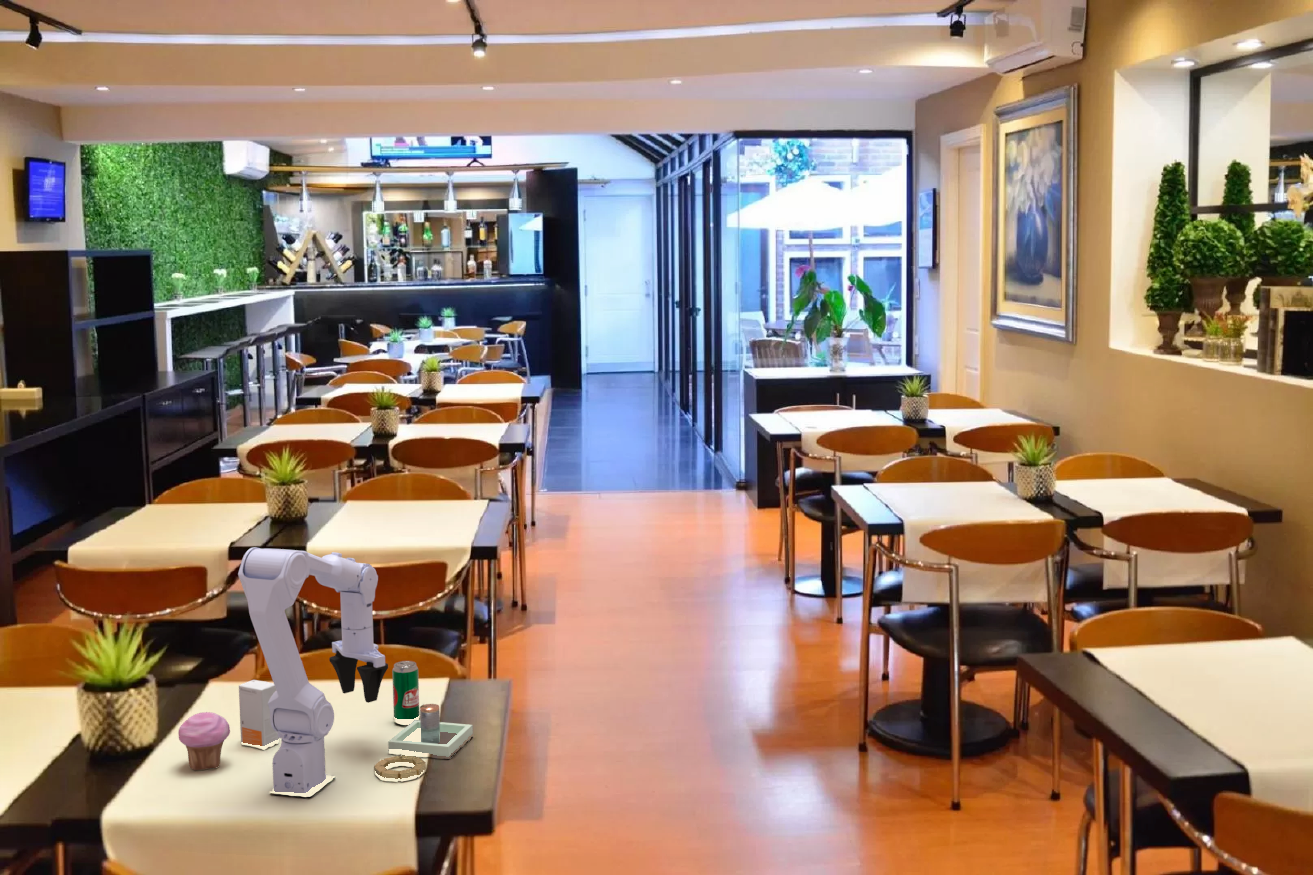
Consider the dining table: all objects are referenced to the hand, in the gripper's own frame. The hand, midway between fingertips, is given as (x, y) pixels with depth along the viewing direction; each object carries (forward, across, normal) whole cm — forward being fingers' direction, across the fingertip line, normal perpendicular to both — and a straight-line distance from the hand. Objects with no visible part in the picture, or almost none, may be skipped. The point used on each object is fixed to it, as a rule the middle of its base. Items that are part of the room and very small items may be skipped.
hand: (359, 696), depth 250 cm
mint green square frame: (+10, -8, -10) cm, 17 cm away
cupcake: (+11, +14, +24) cm, 30 cm away
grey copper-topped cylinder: (+10, -8, -10) cm, 16 cm away
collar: (+10, -15, +2) cm, 18 cm away
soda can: (+11, +6, -15) cm, 19 cm away
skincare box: (+11, +16, +12) cm, 23 cm away
